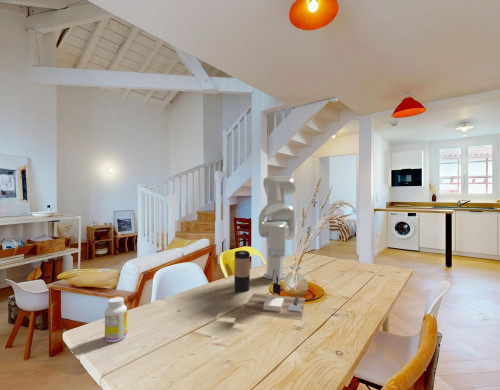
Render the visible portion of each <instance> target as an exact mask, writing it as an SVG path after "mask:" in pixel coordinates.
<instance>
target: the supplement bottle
mask: <svg viewBox="0 0 500 390" xmlns="http://www.w3.org/2000/svg"><path fill="white" fill-rule="evenodd" d="M107 302H108V303H107V305H108V307H107V308H106V309H105V311H104V340H105V341H106V343H116V342H120V341H123V340H124V339H125V338H126V337H127V335H128V307H127V305H126V304H125V303H124V302H125V298H124V297H122V296H116V297H112V298H110V299H108V301H107Z"/></svg>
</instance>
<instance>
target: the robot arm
mask: <svg viewBox="0 0 500 390" xmlns="http://www.w3.org/2000/svg"><path fill="white" fill-rule="evenodd" d="M262 185H263V190H264V191H265V193H266V197H267V204H266V205H265V206H264V207H263V208H262V209H261V211H260V213H259V216H258V235H259V237H261V238H265V239H266V240H265V242H266V272H265V273H264V274H263V277H264V278H265V279H267V280H272V293H273V294H275V295H279V294H281V292H282V291H281V287H282V286H281V285H282V284H281V281H282V280H283V279H285V278H286V274H285V273H283V272H284V257H285V256H286V241H293V240H294V239H295V235H296V227H295V226H296V213H295V209H294V207H293V206H292V205H285V196H286V195H287V196H291V195H294V194H295V192H296V182H295V179H294V178H293V177H292V176H284V175H283V176H280V175H279V176H275V175H273V176H267V177H264V178H263V183H262ZM266 217H267V218H268V221H265V219H266Z"/></svg>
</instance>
